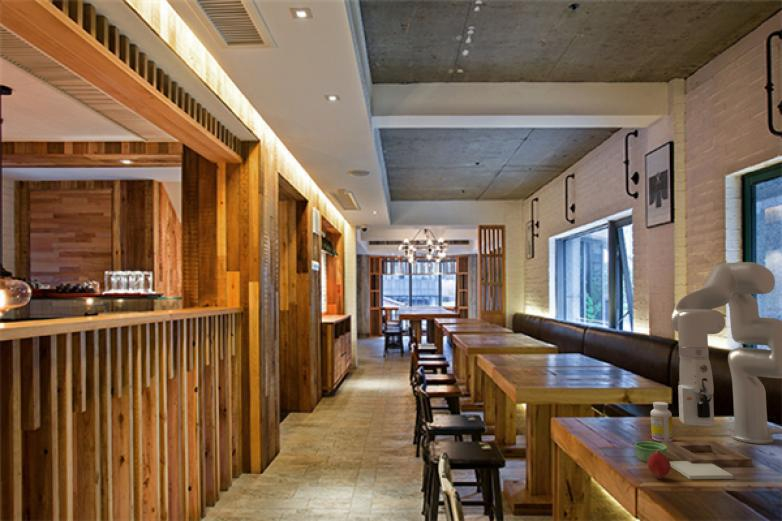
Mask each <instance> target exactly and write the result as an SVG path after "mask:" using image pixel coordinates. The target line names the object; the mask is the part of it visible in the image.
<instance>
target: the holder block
mask: <svg viewBox="0 0 782 521" xmlns="http://www.w3.org/2000/svg"><path fill="white" fill-rule="evenodd" d="M660 444H663V445H665V446H666V447H667V450H666V453H667V454H670V455H671V456H673V457H675V458H676V459H678V460H679V461H688V462H690V463H712V464H714V465H716V466H718V467H753V459H752V458H750V457H748V456H746V455H744V454H742V453H740V452H737V451H736V450H734V449H732V448H730V447H727V446H725V445H724V444H721V443H719V442H717V441H716V440H715V441H672V442H660ZM691 451H705V452H711V453H712V452H713V453H712V455H711V454H710V455H709V454H707V455H706V454H705V455H704V454H703V455H700V454H699V455H698V454H695V453H694V452H691ZM714 454H715V455H714Z"/></svg>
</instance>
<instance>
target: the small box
mask: <svg viewBox="0 0 782 521" xmlns="http://www.w3.org/2000/svg"><path fill="white" fill-rule="evenodd" d="M677 389H678V390H677V391H678V392H677V394H678V413H679V414H678V415H679V416H678V419H679V421H680V422H681V423H682V424H683V425H689V426H690V425H692V426H703V427H705V426H707V427H715V414H714V412H715V411H714V410H715V409H714V407H715V406H714V395H713V396H712V398H711V400H710V402H711V403H710V404H709V405H710V417H709V418H699V417H698V411H697V403H699V402H698V398H697V395H696V393H694V392H693V391H692V389H691V388H689V387H686V386H683V385H679V384H678V386H677ZM700 392H705V390H703V391H700ZM703 396H704V395H701V398H702V397H703Z"/></svg>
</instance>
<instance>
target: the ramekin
mask: <svg viewBox="0 0 782 521" xmlns="http://www.w3.org/2000/svg"><path fill="white" fill-rule="evenodd" d="M634 446H635V452H636V458H637V459H638V460H639V461H642V462H645V463H647V461H648V459H649V457H650V456H651V455H652V454H653V453H655V452H656V451H657V450H660V452H661V453H662V454H663V455H665V456H666V457H667V452H666V450H667V447H666V446H665V445H663V444H661V442H657V441H648V440H647V441H646V440H643V441H642V440H640V441H637V442H634Z"/></svg>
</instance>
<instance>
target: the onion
mask: <svg viewBox="0 0 782 521" xmlns="http://www.w3.org/2000/svg"><path fill="white" fill-rule="evenodd" d="M669 461H670V460H669V459H668V458H667V455H666V456H665V455H663V454H662V453H661V452H660V450H657V451H656V452H655V453H653V454H652V455H651V456H650V457H649V459H648V461H647V462H646V465H647V467H648V470H649V471H650V472H651V474H653V475H654V476H655V477H656V478H658V479H663V478H664V477H665V476H666V475H668V474H669V473H670V471H671V469H672V467H671V465H670V462H669Z"/></svg>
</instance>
